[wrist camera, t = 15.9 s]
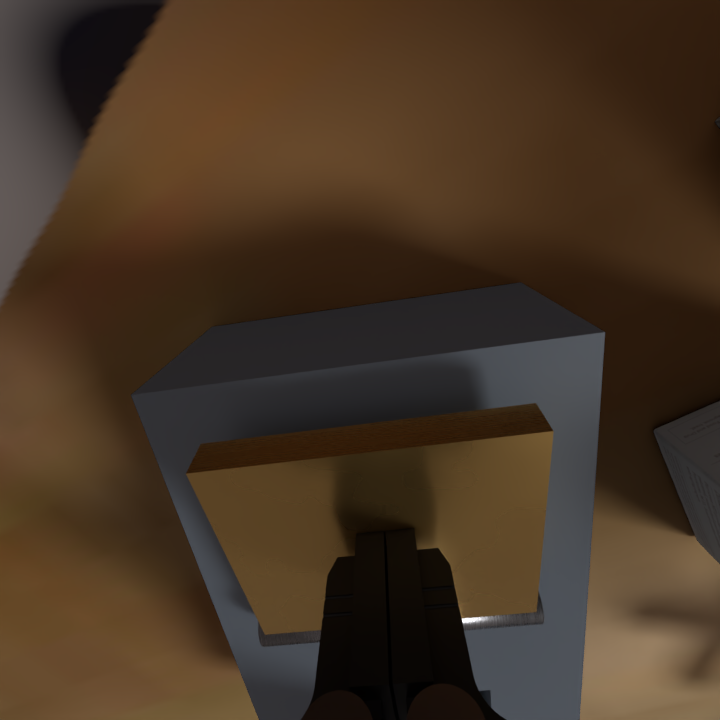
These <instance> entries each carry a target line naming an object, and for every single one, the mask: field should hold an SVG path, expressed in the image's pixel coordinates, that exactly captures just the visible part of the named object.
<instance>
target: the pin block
mask: <svg viewBox="0 0 720 720" xmlns="http://www.w3.org/2000/svg"><path fill="white" fill-rule="evenodd" d="M604 342H605V332H604V331H602V330H601V329H599V328H597V327H596V326H594V325H592V324H591V323H589V322H587V321H586V320H584V319H582V318H580V317H579V316H577V315H575V314H574V313H572V312H570V311H569V310H567V309H565V308H563V307H562V306H560V305H558V304H557V303H555V302H553V301H552V300H550V299H548V298H547V297H545V296H543V295H541V294H540V293H538V292H536V291H535V290H533V289H531V288H530V287H528V286H526V285H525V284H523V283H514V284H507V285H500V286H493V287H486V288H479V289H472V290H465V291H458V292H451V293H444V294H437V295H430V296H423V297H416V298H409V299H402V300H395V301H388V302H381V303H375V304H368V305H361V306H354V307H347V308H340V309H333V310H326V311H319V312H312V313H305V314H298V315H291V316H284V317H277V318H270V319H263V320H256V321H249V322H242V323H235V324H228V325H221V326H214V327H211V328H210V329H209V330H208V331H206V332H205V333H204V334H203V335H202V336H200V337H199V338H198V339H197V340H196V341H194V342H193V343H192V344H191V345H190V346H189V347H187V348H186V349H185V350H184V351H183V352H181V353H180V354H179V355H178V356H177V357H175V358H174V359H173V360H172V361H171V362H170V363H168V364H167V365H166V366H165V367H164V368H162V369H161V370H160V371H159V372H158V373H156V374H155V375H154V376H153V377H152V378H150V379H149V380H148V381H147V382H146V383H145V384H143V385H142V386H141V387H140V388H139V389H137V390H136V391H135V392H134V393H133V394H131V396H132V399H133V402H134V404H135V407H136V409H137V412H138V414H139V417H140V419H141V422H142V424H143V427H144V429H145V432H146V434H147V437H148V440H149V442H150V445H151V447H152V450H153V452H154V455H155V457H156V460H157V462H158V465H159V467H160V470H161V473H162V475H163V478H164V480H165V483H166V485H167V488H168V490H169V493H170V495H171V498H172V500H173V503H174V505H175V508H176V511H177V513H178V516H179V518H180V521H181V523H182V526H183V528H184V531H185V533H186V536H187V538H188V541H189V543H190V546H191V549H192V551H193V554H194V556H195V559H196V561H197V564H198V566H199V569H200V571H201V574H202V576H203V579H204V581H205V584H206V587H207V589H208V592H209V594H210V597H211V599H212V602H213V604H214V607H215V609H216V612H217V614H218V617H219V619H220V622H221V625H222V627H223V630H224V632H225V635H226V637H227V640H228V642H229V645H230V647H231V650H232V652H233V655H234V657H235V660H236V663H237V665H238V668H239V670H240V673H241V675H242V678H243V680H244V683H245V685H246V688H247V690H248V693H249V695H250V698H251V701H252V703H253V706H254V708H255V711H256V713H257V716H258V718H259V720H301V718H302V717H303V716H304V714H305V712H306V710H307V709H308V707H309V705H310V702H311V700H312V696H313V693H314V687H315V679H316V670H317V662H318V653H319V644H320V643H307V644H295V645H282V646H270V647H262V646H261V644H260V641H259V636H258V620H257V618H256V616H255V614H254V612H253V610H252V608H251V605H250V603H249V601H248V599H247V597H246V595H245V593H244V591H243V589H242V587H241V585H240V583H239V581H238V579H237V577H236V575H235V573H234V571H233V569H232V567H231V565H230V563H229V561H228V559H227V557H226V555H225V553H224V551H223V548H222V546H221V544H220V542H219V540H218V538H217V536H216V534H215V532H214V530H213V528H212V526H211V524H210V522H209V520H208V518H207V516H206V514H205V512H204V510H203V508H202V506H201V504H200V502H199V500H198V498H197V496H196V494H195V492H194V489H193V487H192V485H191V483H190V481H189V479H188V477H187V475H186V472H187V470H188V468H189V466H190V464H191V462H192V460H193V458H194V456H195V454H196V452H197V450H198V448H199V446H200V444H203V443H211V442H219V441H227V440H236V439H244V438H252V437H260V436H269V435H277V434H285V433H293V432H302V431H310V430H318V429H326V428H334V427H343V426H351V425H359V424H367V423H376V422H384V421H392V420H400V419H409V418H417V417H425V416H433V415H442V414H450V413H458V412H466V411H475V410H483V409H491V408H499V407H508V406H516V405H524V404H532V403H536V404H537V405H538V407H539V408H540V410H541V412H542V413H543V415H544V416H545V418H546V420H547V421H548V423H549V424H550V426H551V428H552V429H553V431H554V433H553V444H552V454H551V465H550V475H549V486H548V496H547V507H546V517H545V528H544V538H543V549H542V559H541V570H540V580H539V594H540V597H541V601H542V606H543V611H544V624H542V625H529V626H517V627H505V628H492V629H480V630H468V631H464V633H465V638H466V642H467V647H468V652H469V657H470V661H471V666H472V671H473V676H474V679H475V683H476V685H477V687H478V690H479V692H480V693H481V695H482V697H483V698H484V700H485V701H486V702H487V704H488V705H489V706H490V707H491V708H492V709H493V710H494V711H495V712H496V713H498V714H499V715H500V716H502V717H503V718H505V719H506V720H579V719H580V704H581V689H582V674H583V659H584V644H585V629H586V614H587V599H588V583H589V568H590V553H591V538H592V523H593V508H594V493H595V478H596V463H597V447H598V432H599V417H600V402H601V387H602V372H603V357H604Z"/></svg>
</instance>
